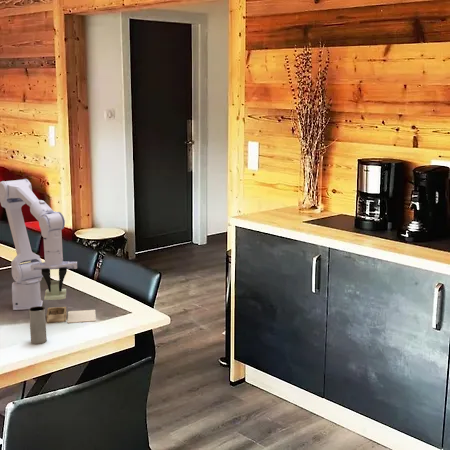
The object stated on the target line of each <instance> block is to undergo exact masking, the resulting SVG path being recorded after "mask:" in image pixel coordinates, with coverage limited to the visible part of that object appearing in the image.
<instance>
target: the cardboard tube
mask: <svg viewBox="0 0 450 450" xmlns="http://www.w3.org/2000/svg"><path fill="white" fill-rule="evenodd" d="M28 313H29V314H28V315H29V329H30V330H29V332H30V343H31V344H34V345H40V344H41V345H42V344H45V343H46V342H47V340H48V339H47V318H46V309H45V307H44V306H43V305H42V306H36V307H31V308H30V309H28Z"/></svg>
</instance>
